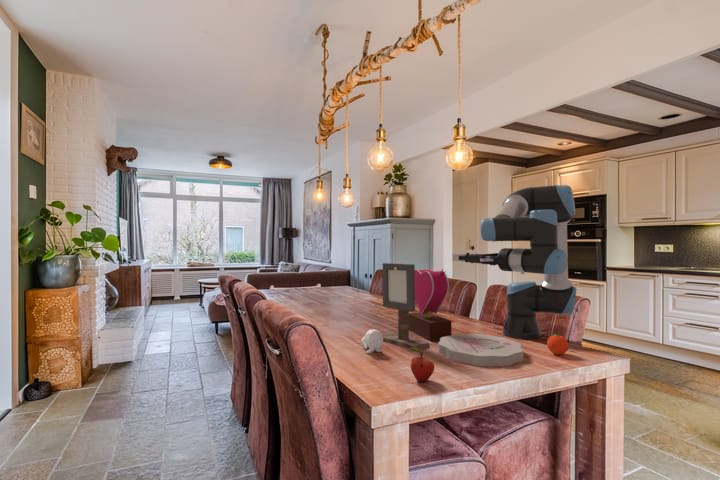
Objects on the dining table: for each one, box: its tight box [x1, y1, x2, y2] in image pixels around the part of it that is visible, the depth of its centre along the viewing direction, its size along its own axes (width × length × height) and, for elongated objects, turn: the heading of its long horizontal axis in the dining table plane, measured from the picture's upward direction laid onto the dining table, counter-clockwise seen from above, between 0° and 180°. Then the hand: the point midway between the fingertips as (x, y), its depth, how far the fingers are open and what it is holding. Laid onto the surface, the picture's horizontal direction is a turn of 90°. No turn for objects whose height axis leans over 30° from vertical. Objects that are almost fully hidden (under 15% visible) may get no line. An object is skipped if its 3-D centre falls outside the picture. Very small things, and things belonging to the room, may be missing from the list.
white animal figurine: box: [360, 329, 384, 355], centre depth 142 cm, size 6×8×12 cm
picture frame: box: [382, 262, 416, 313], centre depth 152 cm, size 16×3×18 cm, turn 40°
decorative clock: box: [409, 268, 453, 342], centre depth 166 cm, size 25×10×30 cm, turn 17°
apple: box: [408, 347, 435, 383], centre depth 111 cm, size 8×7×10 cm
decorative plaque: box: [437, 333, 524, 367], centre depth 139 cm, size 30×4×30 cm
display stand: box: [381, 309, 430, 351], centre depth 153 cm, size 22×8×32 cm, turn 40°
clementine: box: [546, 334, 569, 356], centre depth 138 cm, size 8×7×7 cm
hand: (453, 257), depth 141 cm, fingers closed
